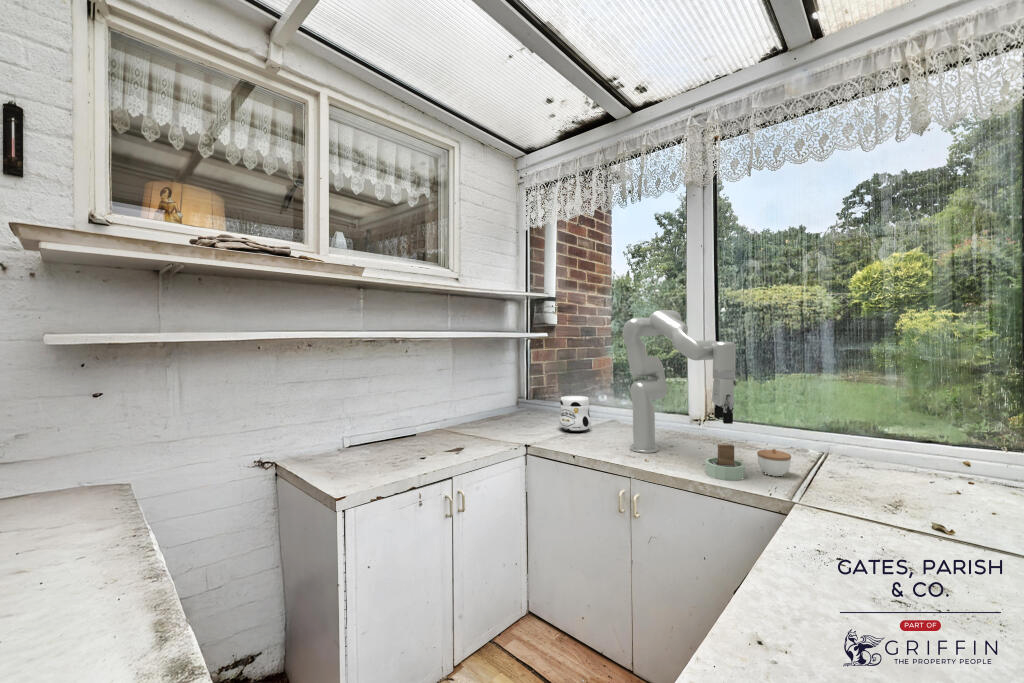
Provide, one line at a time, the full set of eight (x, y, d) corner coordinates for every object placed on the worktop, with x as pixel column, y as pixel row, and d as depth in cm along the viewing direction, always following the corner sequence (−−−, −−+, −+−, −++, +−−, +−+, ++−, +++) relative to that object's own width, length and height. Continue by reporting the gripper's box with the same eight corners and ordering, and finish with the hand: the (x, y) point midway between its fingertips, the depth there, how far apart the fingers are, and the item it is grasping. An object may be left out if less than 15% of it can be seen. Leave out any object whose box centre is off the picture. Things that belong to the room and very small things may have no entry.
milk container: (558, 433, 227) (557, 400, 227) (560, 426, 244) (559, 395, 244) (591, 434, 225) (590, 400, 224) (590, 427, 242) (590, 395, 241)
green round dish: (701, 468, 167) (701, 456, 167) (736, 469, 165) (736, 457, 165) (711, 479, 154) (711, 467, 154) (750, 480, 152) (750, 468, 152)
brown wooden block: (717, 470, 161) (717, 444, 161) (731, 470, 160) (731, 444, 160) (720, 472, 158) (719, 445, 158) (734, 473, 158) (734, 446, 157)
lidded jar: (796, 479, 152) (796, 453, 152) (763, 478, 155) (763, 452, 154) (783, 470, 163) (783, 445, 163) (753, 468, 165) (753, 444, 165)
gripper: (706, 372, 168) (705, 415, 168) (721, 377, 151) (720, 425, 151) (726, 372, 167) (725, 415, 167) (743, 377, 150) (743, 426, 150)
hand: (723, 420), depth 159 cm, fingers open, 9 cm apart
